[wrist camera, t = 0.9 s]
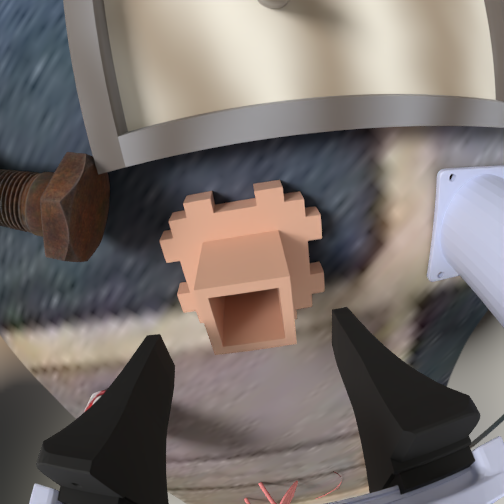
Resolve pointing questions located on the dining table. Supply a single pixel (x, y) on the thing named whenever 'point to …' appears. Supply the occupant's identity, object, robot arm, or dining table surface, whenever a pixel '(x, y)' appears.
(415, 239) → the dining table surface
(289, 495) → the figurine
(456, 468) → the robot arm
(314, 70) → the carrier plate
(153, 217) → the dining table surface
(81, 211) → the bolt
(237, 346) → the gear
